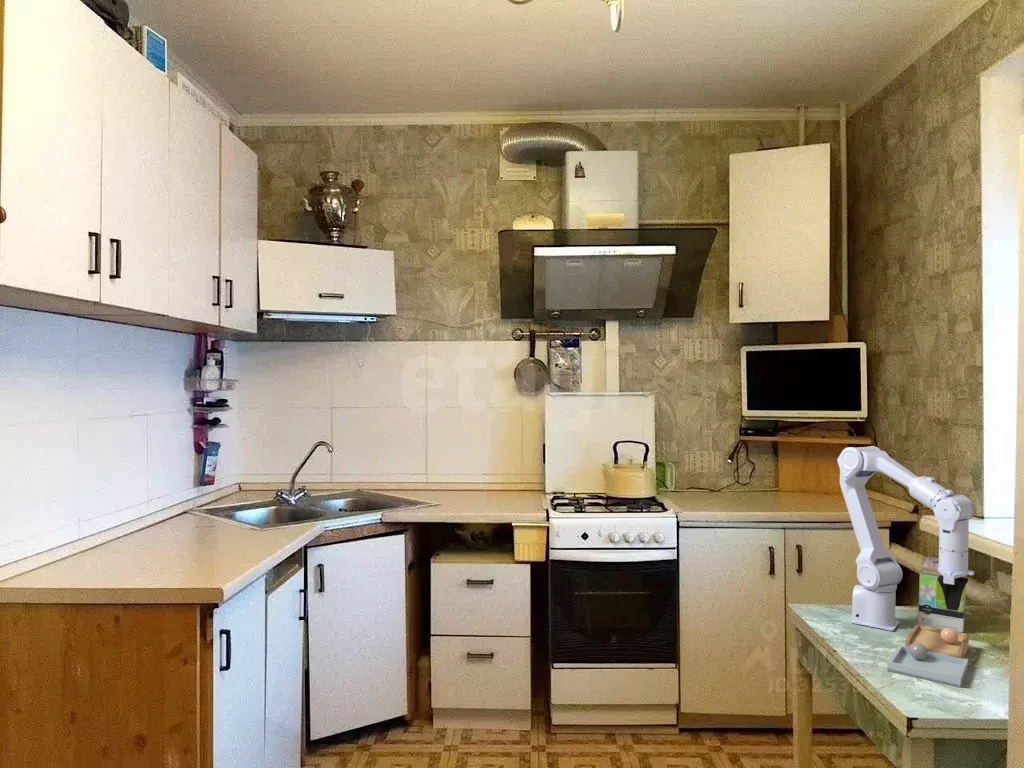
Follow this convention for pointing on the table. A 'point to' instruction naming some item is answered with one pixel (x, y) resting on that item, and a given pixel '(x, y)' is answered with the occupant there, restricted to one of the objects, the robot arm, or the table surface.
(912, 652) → the pebble grey
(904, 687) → the table surface
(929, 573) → the tea box
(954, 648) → the oak tray
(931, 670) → the ceramic dish
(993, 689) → the table surface
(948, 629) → the pebble terracotta
